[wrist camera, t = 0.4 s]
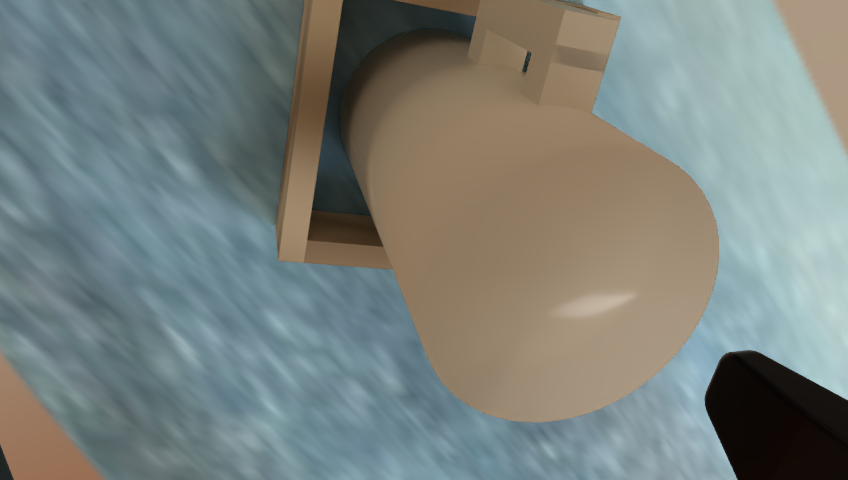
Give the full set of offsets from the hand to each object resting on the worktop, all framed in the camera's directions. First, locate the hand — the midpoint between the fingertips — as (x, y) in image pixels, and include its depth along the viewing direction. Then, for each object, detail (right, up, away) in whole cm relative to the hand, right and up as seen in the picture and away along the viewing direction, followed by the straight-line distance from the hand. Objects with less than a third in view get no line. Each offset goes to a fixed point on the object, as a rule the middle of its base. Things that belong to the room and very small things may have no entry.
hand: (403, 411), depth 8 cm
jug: (0, +6, +15) cm, 16 cm away
